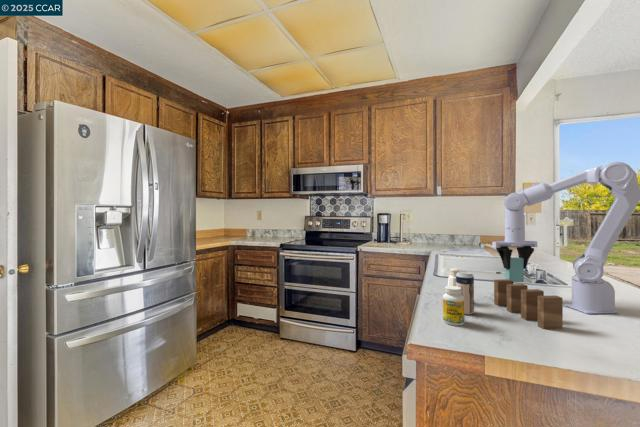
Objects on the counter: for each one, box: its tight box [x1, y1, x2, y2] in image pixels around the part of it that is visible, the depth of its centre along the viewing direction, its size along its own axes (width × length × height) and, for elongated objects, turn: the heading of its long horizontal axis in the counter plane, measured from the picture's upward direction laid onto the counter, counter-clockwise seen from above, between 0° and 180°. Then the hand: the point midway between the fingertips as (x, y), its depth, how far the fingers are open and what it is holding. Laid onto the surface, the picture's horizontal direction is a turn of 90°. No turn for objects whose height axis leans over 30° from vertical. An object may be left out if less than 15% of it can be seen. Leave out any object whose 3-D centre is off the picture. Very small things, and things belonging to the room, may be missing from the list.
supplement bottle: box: [442, 285, 466, 327], centre depth 80 cm, size 5×5×10 cm
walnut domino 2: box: [506, 283, 529, 314], centre depth 88 cm, size 2×5×8 cm, turn 92°
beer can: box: [456, 270, 475, 316], centre depth 87 cm, size 5×5×12 cm
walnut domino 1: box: [493, 279, 514, 307], centre depth 94 cm, size 2×5×8 cm, turn 92°
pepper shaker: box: [447, 268, 460, 286], centre depth 97 cm, size 5×5×11 cm
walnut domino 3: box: [520, 288, 545, 321], centre depth 82 cm, size 2×5×8 cm, turn 92°
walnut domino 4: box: [537, 294, 564, 330], centre depth 76 cm, size 2×5×8 cm, turn 92°
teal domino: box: [504, 257, 525, 283], centre depth 100 cm, size 2×5×8 cm, turn 93°
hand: (514, 268), depth 100 cm, fingers closed on teal domino, 5 cm apart
